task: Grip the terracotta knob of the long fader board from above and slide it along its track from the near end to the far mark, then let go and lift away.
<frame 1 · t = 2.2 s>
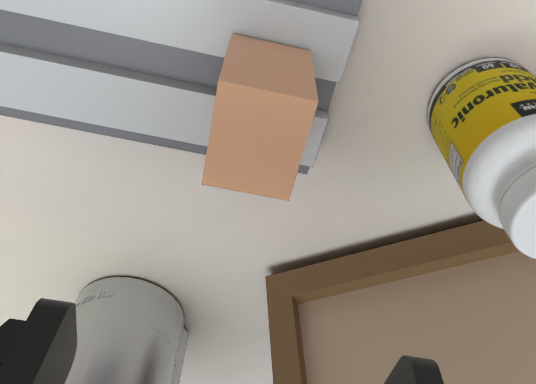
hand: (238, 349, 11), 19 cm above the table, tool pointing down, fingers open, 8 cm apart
photo frame: (421, 293, 38), on the table
supplement bottle: (475, 103, 28), on the table
fader board: (160, 43, 26), on the table
fader knob: (259, 109, 22), point 6 cm above the table, slide at -6.0 cm
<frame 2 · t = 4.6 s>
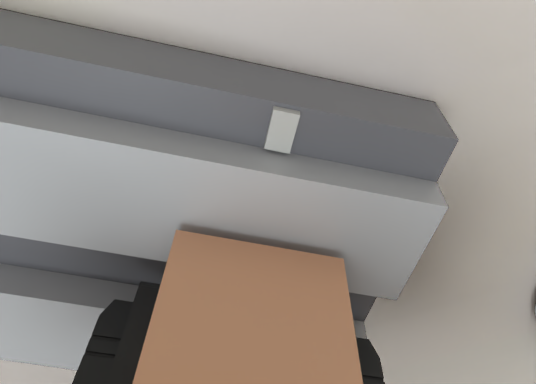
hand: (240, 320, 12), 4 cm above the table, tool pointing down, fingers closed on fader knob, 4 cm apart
fader board: (57, 197, 14), on the table
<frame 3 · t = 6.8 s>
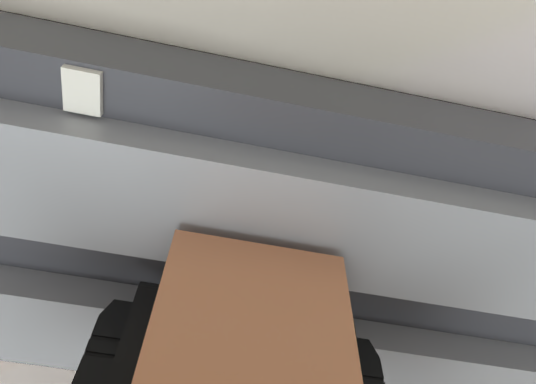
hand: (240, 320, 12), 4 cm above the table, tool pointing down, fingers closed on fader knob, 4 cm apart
fader board: (297, 238, 15), on the table
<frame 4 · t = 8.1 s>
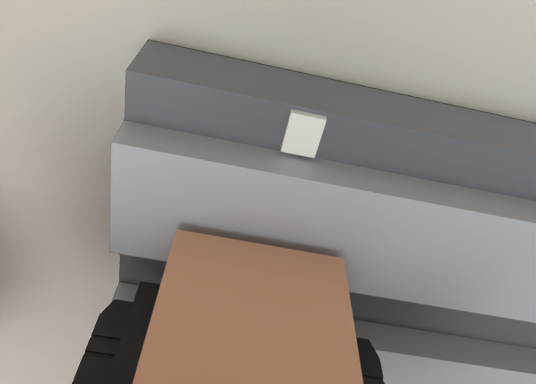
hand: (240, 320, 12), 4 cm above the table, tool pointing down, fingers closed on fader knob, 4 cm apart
fader board: (436, 263, 16), on the table
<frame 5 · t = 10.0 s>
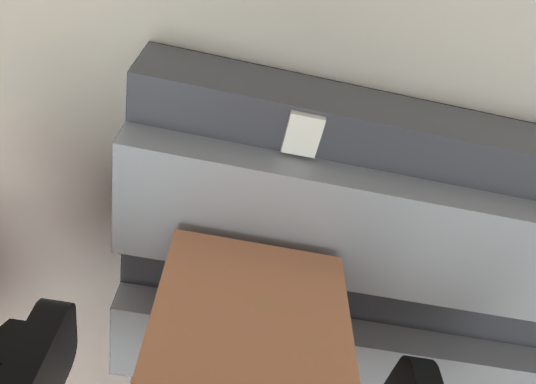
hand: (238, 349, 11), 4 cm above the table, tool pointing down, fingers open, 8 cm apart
fader board: (436, 263, 16), on the table
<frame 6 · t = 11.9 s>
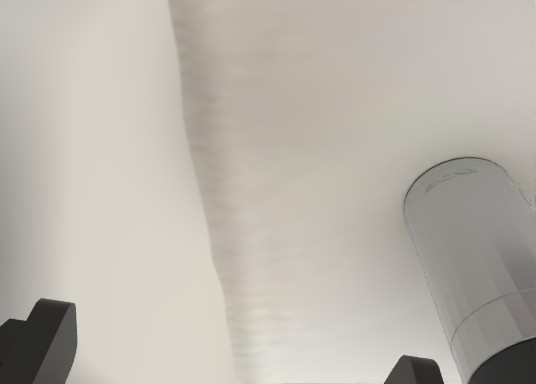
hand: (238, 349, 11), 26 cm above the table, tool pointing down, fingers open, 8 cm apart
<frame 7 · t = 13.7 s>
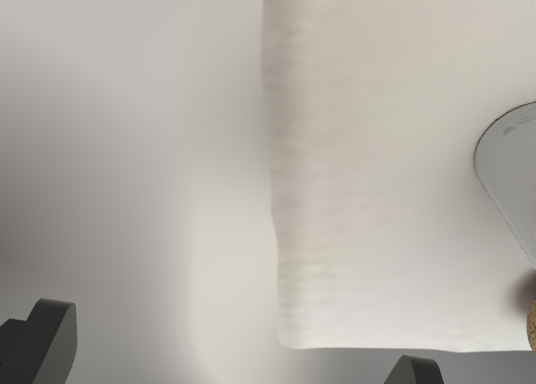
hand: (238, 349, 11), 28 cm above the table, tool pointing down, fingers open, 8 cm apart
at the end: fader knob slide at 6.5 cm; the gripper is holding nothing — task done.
